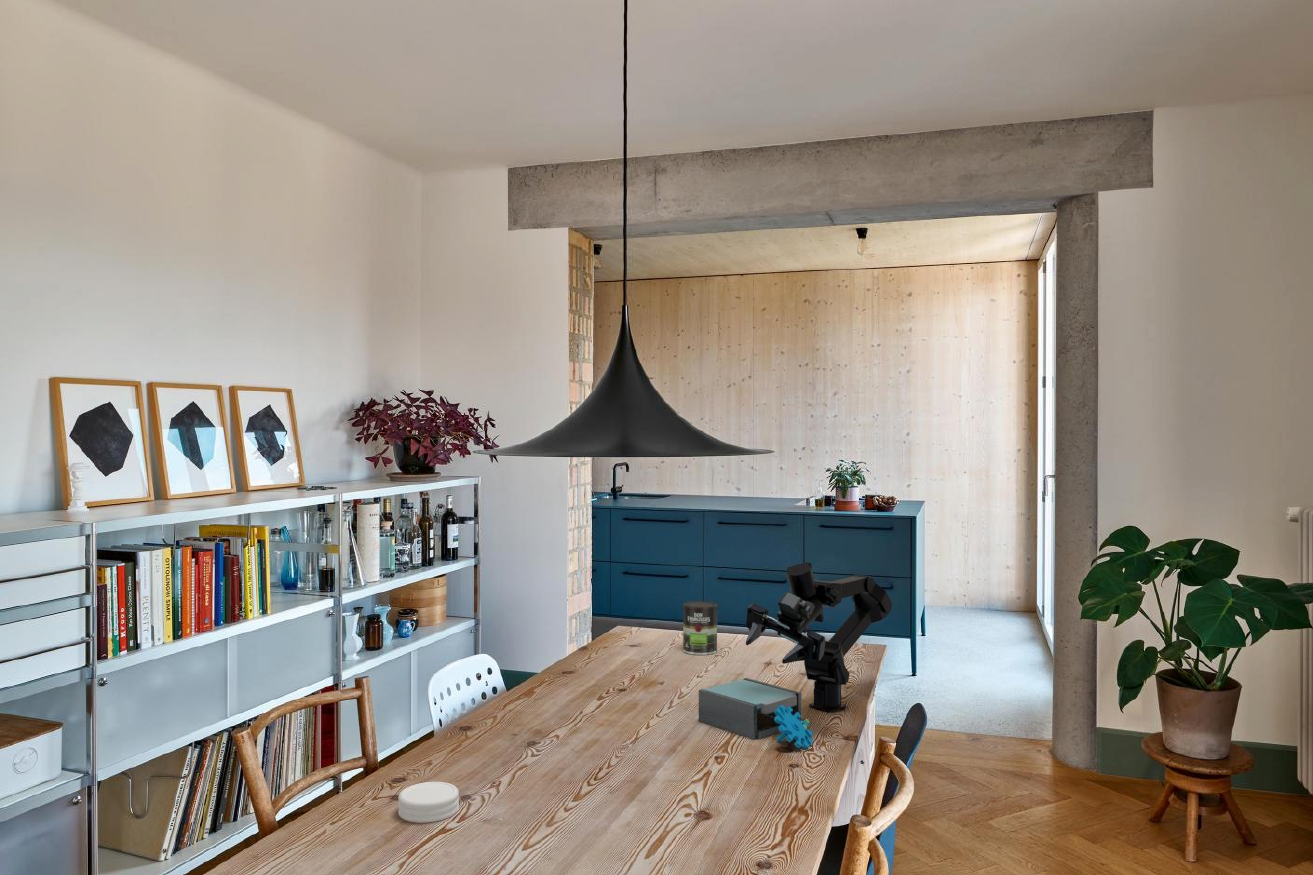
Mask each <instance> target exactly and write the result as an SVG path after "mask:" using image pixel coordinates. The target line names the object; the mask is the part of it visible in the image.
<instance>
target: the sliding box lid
mask: <svg viewBox="0 0 1313 875" xmlns="http://www.w3.org/2000/svg"><path fill="white" fill-rule="evenodd" d="M743 679H744V678H743ZM743 679H739V680H734V681H731V682H726V683H723V684H718V685H715V686H711V687H707V688H703V690H706V691H710V692H713V693H716V694H720V695H723V696H727V697H730V698H733V699H737V700H740V701H744V702H747V703H750V704H754V705H757V709H759V708H761V713H764V714H769V713H772V712H774V711H775V710H776V709H778V707H779V706H780V705H783V706H785V708H787V707H788V706H789V707H792V706H795V705H797V696H796V693H793V692H789V691H785V690H782V689H778V688H774V687H770V686H766V685H762V684H759V683H755V682H751V681H747V680H743ZM764 714H763V715H764Z"/></svg>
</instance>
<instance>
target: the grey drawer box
mask: <svg viewBox="0 0 1313 875" xmlns="http://www.w3.org/2000/svg"><path fill="white" fill-rule="evenodd" d="M743 680H747V681H751V682H755V683H759V684H762V685H766V686H770V687H774V688H778V689H782V690H785V691H789V692H793V693H796V696H797V705H795V706H792V707H791V708H792V709H793V711H792V712H791V714H792V715H793V716H794V714H795V713H796V712H798V713H799V714H800V715H801V717H800V718H799V719H798V720H800V721H802V692H801V691H797V690H793V689H789V688H786V687H782V686H779V685H775V684H770V683H767V682H763V681H759V680H757V679H751V678H749V677H745V678H743ZM703 689H704V688H703ZM703 689H702V688H701V689H698V722H700V723H703V724H705V725H709V726H711V727H714V728H718V729H721V730H723V731H727V732H730V733H733V734H736V735H739V736H742V737H745V738H748V739H751V740H753V741H754V740H756V739H757V740H760V739H763V738H766V737H769V736H772V735H775V734H778V733H781V732H780V731H779V729H778V727H779V726H780V724H779V723H775V724H772V725H770V726H765V727H763V728H760V729H758V714H760V715H764V716H766V717H767V716H768V717H770V718H775V717H776V716H777V715H776V714H775V713H774V712H772V713H769V714H764V713H761V708H759V709H757V705H754V704H750V703H747V702H744V701H740V700H737V699H733V698H730V697H727V696H723V695H720V694H716V693H713V692H710V691H706V690H703ZM785 712H786V708H785ZM786 713H787V712H786Z"/></svg>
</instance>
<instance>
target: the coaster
mask: <svg viewBox="0 0 1313 875" xmlns="http://www.w3.org/2000/svg"><path fill="white" fill-rule="evenodd" d="M459 794H460V791H459V788H458V787H456V785H454V784H452V783H449V782H446V781H427V782H426V781H425V782H420V783H416V784H412V785H409V786H407V787H406V788H404V789H403V790H402V791H401V792H400V793H399V794H398V797H397V798H398V805H397V806H398V811H397V812H398V816H399V817H400V819H402V820H404V821H406V822H409V823H417V824H426V823H434V822H439V821H444V820H446V819H448V818H451V817H452V816H454V815H456V813H458V810H459V808H460V805H459V804H460V803H459V802H460V799H459V796H460V795H459Z"/></svg>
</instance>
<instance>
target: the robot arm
mask: <svg viewBox="0 0 1313 875" xmlns="http://www.w3.org/2000/svg"><path fill="white" fill-rule="evenodd" d="M812 565H813V564H812V563H811V562H808V561H803V562H802V563H799V564H797V563H796V564H795V565H791V566H789V567H787V569H786V571H785V573H786V578H787V581H788V585H789V589H790V592H788V591H785V593H784V594H783V595H782V597H781V598H780V599H779V601H778V603H777V605H778V607H779V610H778V611H777V612H776V618H778V619H775V618H774V617H772V616H769V609H767V608H766V607H762V606H761V605H758V604H757V603H755V602H754V603H752V604H750V605H749V606H748V607H747V609H746V623H745V624H746V627H747V629H748V631H749V633H748V635H747V638H746V640H745V645H746V646H749V645H751V644H752V643H754V642H755V641H756V640H758V639H759V638H760V637H761V636H762V634H763V633H764V632H765V631H766V629H767V628H768V629H771V630H773V631H775V632H776V633H777V634H776V635H778V636H779V637H781V638H784V639H786V640H788V641H790V642H792V643H793V644H796V645H795V646H794V647H792V648H791V649H790V650H789V651H788V652H787V653H786V654H785V656H784V657H783V658H782V661H781V663H782V664H783V665H786V664H790V663H795V662H803V661H804V662H803V664H804V670H805V673H806V679H807V680H809V681H811V680H812V681H813V686H814V688H813V702H811V703H808V707H811V708H814V709H817V710H821V711H825V712H829V713H833V712H834V711H835V712H836V711H838V710H839V711H840V710H841V709H844V708H847V704H845V703H842V686H846V685H847V683H849V679H850V672H849V670H848V668H847V667H846V665H845V656H846V654H847V653H848V652H849V651H850V650H851V648H852V647H853V646H854V645H855V644H856V642H857V641H858V640H859V639H860V638H861V637H862V635H863V634H864V633H865V632H866V630H867V629H868V628H869V627H870V626H871V625H872V624H875V623H879V622H882V621H883V620H884V619H885V618H887V617H888V615H889V614H890V613H891V611H892V608H893V602H892V600H891V597H890V596H889V594H888V593H887V590H885V589H884V588H883V587H882V586H880V584H877V583H876V581H875V579H874V578H873V577H871V576H869V575H861V574H854V575H851V576H849V577H845V578H840V579H836V580H832V581H826V580H816V579H815V577H814V573H813V566H812ZM848 597H851V600H852V602H853V605H854V610H853V612H852V613H851V614H850V615H849V617H848V618H847V619H845V621H844V622H843V623H842V625H841V626H840V627H839V628H838V629H837V631H835V633H834V634H833V635H832V636H831V638H829V640H826V637H825V636H824V635H823V634H820V633H817V632H815V631H814V630H812V629H809V626H810V625H811V624H812V623H813V622H817V623H823V622H824V614H823V613H824V607H827V608H835V607H836V606H838V605H839V604H841V603H842V599H845V598H848ZM804 634H805V635H804Z"/></svg>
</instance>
